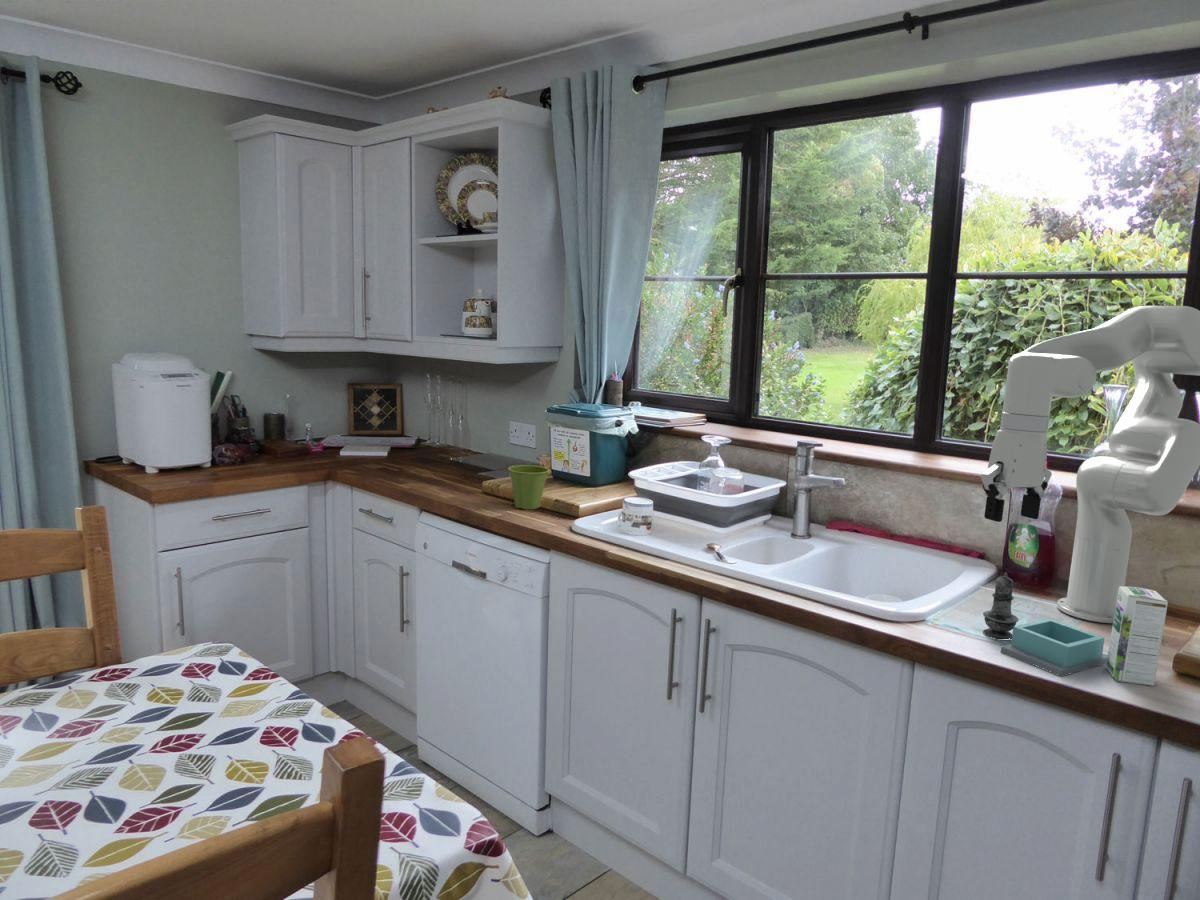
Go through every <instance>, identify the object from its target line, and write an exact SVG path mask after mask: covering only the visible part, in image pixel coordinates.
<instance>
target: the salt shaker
mask: <svg viewBox="0 0 1200 900" xmlns="http://www.w3.org/2000/svg"><path fill="white" fill-rule="evenodd" d="M1013 587H1014V581H1013V578H1012V579H1011V578H1010V577H1009V576H1008V573H1007V571H1005V572H1004V573H1003V575H1002V576H998V577H997V578H996V579H995V588H994V593H992V594H991V595H992V597H993V599H992V600H993V601H992V602H993V603H992V606H991V609H990V610H985V611H984V612H982V614H983V617H984V621H985V622H984V623H985V625H986V626H987V627H988V628H986V629H983V630H982V634H983V635H984V634H985V635H984V636H986V637H987V638H990V637H992V638H991V639H993V638H995V639H994V640H997V639H1009V638H1010V639H1012V634H1013V633H1012V632H1010V631H1013V626H1017V625H1016V624H1017V622H1019V617H1017V616H1016V615H1015V614H1013V613H1012V600H1013V601H1014V598H1015V597H1014V596H1013V589H1014V588H1013Z"/></svg>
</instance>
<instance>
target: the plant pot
mask: <svg viewBox="0 0 1200 900" xmlns="http://www.w3.org/2000/svg"><path fill="white" fill-rule="evenodd" d="M507 470H508V471H509V473H510V478H511V482H512V490H513V492H512V493H513V499H514V500H513V501H514V507H515V508H516V509H523V510H526V511H527V510H536V509H539V508H541V504H540V498H541V496H542V497H543V494H544V489H545V484H546V480H547V478H548V473H549V472H550V470H551V469H549V468H548V467H544V466H540V465H531V464H530V465H528V464H527V465H526V464H525V465H523V464H522V465H512V466H509V467H508V468H507Z"/></svg>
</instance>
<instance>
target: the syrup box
mask: <svg viewBox="0 0 1200 900" xmlns="http://www.w3.org/2000/svg"><path fill="white" fill-rule="evenodd" d="M1168 604H1169V601H1168V600H1166V599H1165V598H1164V597H1163V596H1162V595H1161V594H1160V593H1159V592H1157V590H1152V589H1150V588H1149V589H1148V588H1144V587H1136V586H1125V587H1119V591H1118V597H1117V604H1116V609H1115V615H1114V621H1113V623H1112V626H1111V627H1112V628H1111V634H1110V638H1109V639H1110V640H1109V646H1108V653H1107V655H1108V659H1107V663H1106V664H1105V666H1106V667H1105V668H1106V670H1107V671H1108V672H1109V673H1110V675H1111V676H1112V678H1113V679H1114V680H1115V681H1116V682H1122V683H1130V684H1137V685H1144V686H1152V687H1153V686H1155V682H1156V675H1157V670H1158V664H1159V658H1160V652H1161V646H1162V645H1161V644H1162V641H1163V640H1162V639H1163V635H1164V628H1165V623H1166V617H1167V609H1168V606H1169V605H1168Z"/></svg>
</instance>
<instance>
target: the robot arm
mask: <svg viewBox="0 0 1200 900" xmlns="http://www.w3.org/2000/svg"><path fill="white" fill-rule="evenodd" d="M1130 362H1132V366H1133V367H1132V368H1133V372H1134V373H1133V374H1134V382H1135V383H1134V384H1135V388H1134V394H1132V395H1133V396H1132V398H1131V399H1130V401H1129V403H1128V404H1127V406H1126V407H1125V410H1124V411H1123V413H1122V414H1121V416H1120V417H1119V419H1118V421H1117V422H1116V424H1115V426H1114V427H1113V429H1112V432H1111V433H1110V436H1109V440H1108V448H1109V450H1110V452H1111V453H1112V454H1113V455H1115V456H1116V457H1115V456H1107V455H1100V456H1094V457H1090V458H1088V459H1086V460H1085V461H1083V462H1082V463H1081V465H1080V466H1079V468H1078V470H1077V473H1076V477H1075V478H1076V480H1075V481H1076V483H1075V484H1076V492H1077V493H1076V495H1077V515H1076V526H1075V533H1074V539H1073V548H1072V556H1071V565H1070V572H1069V579H1068V584H1067V585H1068V586H1067V593H1066V596H1065V597H1061V598H1059V599H1057V603H1056V607H1057V608H1058V609H1059V610H1060V611H1061V612H1062V613H1064V614H1067V615H1069V616H1072V617H1075V618H1078V619H1082V620H1086V621H1090V622H1095V623H1102V624H1113V621H1114V615H1115V609H1116V604H1117V597H1118V591H1119V587H1126V580H1127V579H1126V578H1127V572H1128V564H1129V557H1130V550H1131V545H1132V537H1133V528H1132V523H1131V521H1130V518H1129V517H1128V515H1127V512H1126V510H1127V511H1131V512H1135V513H1140V514H1144V515H1149V516H1160V517H1161V516H1164V515H1167V514H1169V513H1171V511H1173V510H1174V509H1175V508H1176V506H1177V505H1178V504H1179V502H1180V500H1181V498H1182V497H1183V495H1184V493H1185V492H1186V490H1187V488H1188V486H1190V483H1191V482H1192V479H1193V478H1194V476H1195V474H1196V473H1197V470H1198V469H1199V468H1200V423H1198V422H1196V421H1194V420H1191V419H1188V418H1180V417H1178V416H1179V414H1180V412H1181V411H1182V408H1183V397H1182V394H1181V392H1180V390H1179V389H1178V387H1177V385H1176V384H1175V382H1174V381H1173V378H1172V377H1171V374H1175V375H1186V376H1189V375H1190V376H1199V377H1200V310H1199V309H1198V308H1195V307H1192V306H1189V305H1188V306H1187V305H1140V306H1135V307H1132V308H1130V309H1127V310H1125V311H1124V312H1122V313H1120V314H1118V315H1117V316H1115V317H1113V318H1111V319H1109V320H1108V321H1106V322H1104V323H1101V324H1099V325H1098V326H1096V327H1094V328H1091V329H1085V330H1082V331H1077V332H1073V333H1070V334H1066V335H1061V336H1057V337H1053V338H1050V339H1047V340H1043V341H1041V342H1039V343H1036V344H1034V345H1032V346H1031V347H1028V348H1026V349H1025V350H1024V351H1022V352H1020V353H1016V354H1013V355H1012V356H1011V357H1010V359H1009V361H1008V367H1007V374H1006V381H1005V382H1006V383H1005V389H1004V396H1003V403H1002V410H1001V412H1002V413H1001V417H1000V419H1001V420H1000V427H999V430H997V431H996V434H995V436H994V440H993V443H992V446H991V450H990V453H989V454H990V455H989V461H988V465H987V469H986V470H985V471H983V472H982V473H981V475H980V476H981V482H982V489H983V490H984V496H985V497H986V501H985V509H984V516H983V517H984V519H986V520H990V521H993V522H997V523H1001V522H1002V521H1003V516H1004V509H1005V508H1004V507H1005V499H1003V498H1004V496H1005V494H1006V493H1007V491H1009V489H1010V490H1013V489H1014V490H1015V489H1024V491H1025V493H1023V494H1022V495H1023V496H1022V500H1021V501H1022V502H1021V508H1020V516H1021V517H1024V518H1028V519H1032V520H1038V519H1039V516H1040V509H1041V501H1042V498H1044V496H1045V491H1046V490H1047V488H1048V486H1049V483H1050V482H1049V481H1050V479H1051V478H1052V475H1053V474H1052V471H1050V470H1049V469H1048V468H1047V458H1048V457H1047V456H1048V431H1049V424H1050V416H1051V408H1052V401H1053V397H1055V398H1065V399H1066V398H1067V399H1075V398H1080V397H1082V396H1084V395H1087V394H1088V393H1090V392H1091V390H1092V389H1093V388H1094V386H1095V384H1096V382H1097V373H1099V372H1106V371H1107V372H1108V371H1113V370H1116V369H1118V368H1121V367H1123V366H1124V365H1126V364H1128V363H1130ZM998 488H999V489H998Z"/></svg>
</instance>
